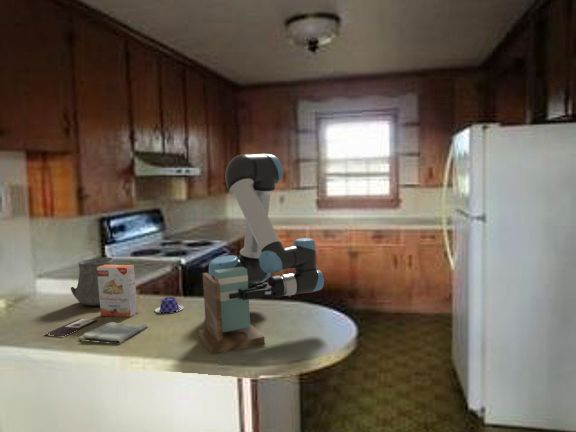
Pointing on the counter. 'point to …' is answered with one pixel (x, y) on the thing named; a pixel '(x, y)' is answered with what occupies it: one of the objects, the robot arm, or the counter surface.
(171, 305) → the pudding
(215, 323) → the brown angled piece
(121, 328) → the dish towel
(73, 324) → the chocolate bar
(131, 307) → the cracker box
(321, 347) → the counter surface
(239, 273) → the book
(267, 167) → the robot arm
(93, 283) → the vessel
